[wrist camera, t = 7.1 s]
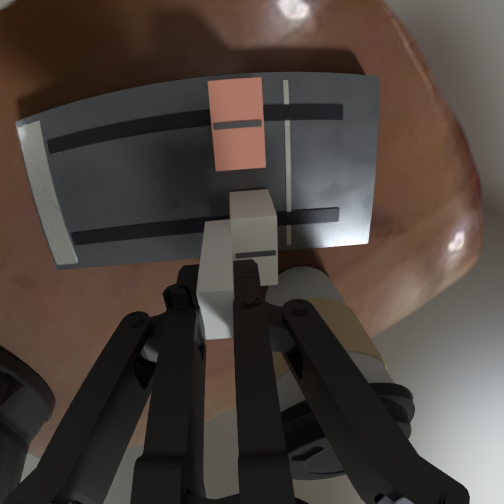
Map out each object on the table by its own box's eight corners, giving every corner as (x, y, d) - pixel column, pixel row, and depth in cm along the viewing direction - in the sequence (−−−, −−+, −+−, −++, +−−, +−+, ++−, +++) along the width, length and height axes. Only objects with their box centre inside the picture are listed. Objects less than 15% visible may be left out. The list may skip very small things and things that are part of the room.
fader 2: (235, 252, 22) (237, 288, 19) (229, 192, 20) (230, 219, 16) (270, 249, 22) (278, 285, 19) (267, 189, 20) (277, 216, 16)
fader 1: (218, 152, 18) (215, 171, 15) (211, 80, 16) (207, 81, 13) (258, 149, 19) (266, 167, 15) (254, 77, 16) (261, 77, 13)
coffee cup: (249, 244, 24) (272, 429, 12) (363, 248, 25) (453, 398, 13) (241, 333, 29) (254, 489, 16) (338, 331, 30) (385, 469, 17)
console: (66, 256, 24) (57, 270, 22) (30, 116, 17) (14, 121, 16) (358, 231, 24) (368, 244, 23) (366, 75, 18) (379, 76, 16)
